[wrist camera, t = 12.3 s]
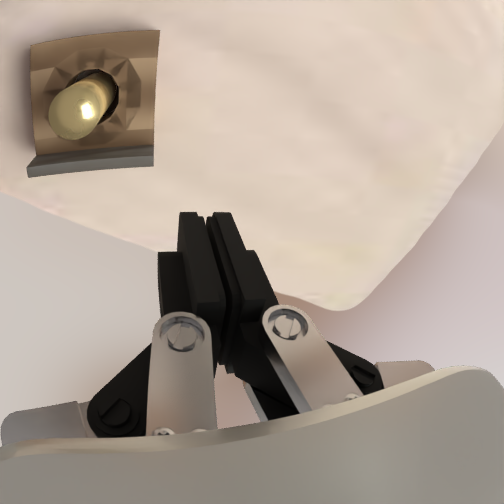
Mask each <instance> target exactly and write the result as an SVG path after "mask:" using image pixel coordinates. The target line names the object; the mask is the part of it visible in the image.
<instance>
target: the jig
mask: <svg viewBox="0 0 504 504" xmlns="http://www.w3.org/2000/svg"><path fill="white" fill-rule="evenodd" d="M159 36H160V30H146V31H126V32H113V33H102V34H93V35H85V36H78V37H71V38H65V39H59V40H54V41H49V42H44V43H39V44H35V45H31V48H30V85H31V106H32V120H33V131H34V140H35V148H36V157H35V158H34V159H33V160H32V162H31V163H30V164H29V165H28V166H27V174H28V178H30V177H38V176H46V175H54V174H62V173H72V172H81V171H92V170H104V169H117V168H132V167H150V166H154V111H155V88H156V72H157V58H158V46H159ZM90 69H100V70H102V71H104V72H106V73H108V74H110V75H112V77H113V78H114V80H115V82H116V83H117V85H118V87H119V104H118V105H117V107H116V109H115V110H113V111H112V112H110V113H108V114H107V115H105V116H103V117H101V119H100V120H99V122H98V123H97V125H96V126H95V128H94V129H93V130H92V131H91V132H90V133H89V134H88V135H86V136H85V137H83V138H80V139H76V140H68V139H64V138H62V137H60V136H59V135H57V134H56V133H55V132H54V131H53V129H52V127H51V125H50V122H49V108H50V105H51V103H52V101H53V99H54V98H55V97H56V96H57V94H59V93H60V92H61V91H63V90H64V89H66V88H68V87H69V86H71V85H73V84H74V83H75V81H76V79H77V77H78V75H80V74H81V73H83V72H84V71H86V70H90Z"/></svg>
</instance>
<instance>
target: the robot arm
mask: <svg viewBox="0 0 504 504" xmlns="http://www.w3.org/2000/svg"><path fill="white" fill-rule="evenodd" d="M158 290H159V302H160V313H161V318H160V319H159V320H158V322H157V323H156V324H155V327H154V330H153V337H152V343H151V344H150V345H149V346H147V347H146V348H145V349H144V350H143V351H142V352H141V353H140V354H139V355H138V356H137V357H136V358H135V359H134V360H132V361H131V362H130V363H129V364H128V365H127V366H126V367H125V368H124V369H123V370H122V371H120V373H118V374H117V375H116V376H115V377H114V378H113V379H112V380H111V381H110V382H109V383H108V384H106V385H105V386H104V387H103V388H102V389H101V390H100V391H99V392H98V393H97V394H96V395H95V396H94V397H93V398H92V400H91V401H88V402H84V403H79V404H78V403H77V401H73V402H69V403H63V404H58V405H52V406H47V407H41V408H35V409H29V410H23V411H16V412H14V413H11V414H9V415H8V416H7V417H6V418H5V419H4V421H3V423H2V426H1V440H2V447H0V504H504V388H503V387H502V386H501V384H500V383H499V382H498V380H496V378H495V377H494V376H493V375H492V374H491V373H490V372H488V371H487V370H484V369H482V368H478V367H472V366H451V367H447V368H442V369H439V370H436V371H435V370H434V368H433V367H432V366H431V365H430V364H428V363H426V362H424V361H419V360H418V361H397V362H377V363H376V364H375V365H373V364H372V363H370V362H369V361H367V360H365V359H363V358H361V357H359V356H356V355H355V354H352V353H350V352H348V351H346V350H344V349H342V348H340V347H338V346H336V345H334V344H332V343H330V342H328V341H326V340H325V339H324V337H323V336H322V335H321V333H320V332H319V330H318V329H317V327H316V326H315V325H314V323H313V322H312V320H311V319H310V318H309V316H308V315H307V314H306V313H305V312H303V311H301V310H300V309H299V308H296V307H293V306H290V305H279V304H278V301H277V298H276V296H275V294H274V292H273V289H272V287H271V285H270V283H269V280H268V278H267V276H266V274H265V272H264V269H263V267H262V265H261V263H260V260H259V258H258V256H257V254H256V252H255V251H254V250H246V248H245V246H244V244H243V241H242V239H241V236H240V234H239V231H238V229H237V227H236V224H235V222H234V219H233V217H232V214H231V213H230V212H214V213H213V215H212V217H207V220H206V225H205V221H204V218H203V216H198V214H197V212H180V215H179V227H178V243H177V252H158ZM217 363H219V365H225V369H226V372H227V374H229V373H235V376H236V377H238V378H240V379H241V380H243V386H244V389H245V391H246V393H247V395H248V397H249V399H250V401H251V403H252V405H253V407H254V409H255V411H256V413H257V415H258V417H259V419H260V421H261V422H259V423H254V424H248V425H242V426H236V427H230V428H224V429H217V419H216V418H217V417H216V405H215V391H214V378H215V373H216V368H217Z"/></svg>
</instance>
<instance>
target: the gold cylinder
mask: <svg viewBox="0 0 504 504" xmlns="http://www.w3.org/2000/svg"><path fill="white" fill-rule="evenodd" d="M116 91H117V88H116V83H115V81H114V80H113V78H112V77H111V76H109V75H108V74H105V73H94V74H91V75H89V76H87V77H86V78H84V79H82V80H80V81H78V82H76V83H75V84H73V85H71V86H69V87H68V88H66V89H64V90H63V91H61V92H60V93H59V94H57V96H56V97H55V98H54V99H53V101H52V103H51V105H50V108H49V122H50V125H51V127H52V129H53V131H54V132H55V133H56V134H57V135H59V136H60V137H62V138H64V139H68V140H76V139H80V138H83V137H85V136H86V135H88V134H89V133H90V132H91V131H92V130H93V129H94V128H95V126H96V125H97V123H98V122H99V120H100V119H101V117H102V116H103V114H104V113H105V112H106V110H107V109H108V107H109V106H110V104H111V103H112V102H113V100H114V98H115V96H116Z"/></svg>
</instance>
